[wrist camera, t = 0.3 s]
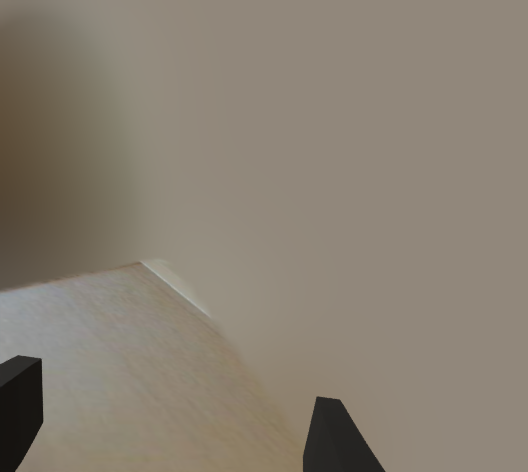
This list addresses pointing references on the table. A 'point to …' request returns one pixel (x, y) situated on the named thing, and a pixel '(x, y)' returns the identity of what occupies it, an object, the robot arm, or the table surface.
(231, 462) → the table surface
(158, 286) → the table surface
